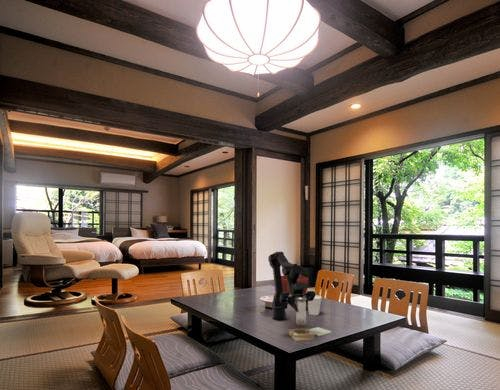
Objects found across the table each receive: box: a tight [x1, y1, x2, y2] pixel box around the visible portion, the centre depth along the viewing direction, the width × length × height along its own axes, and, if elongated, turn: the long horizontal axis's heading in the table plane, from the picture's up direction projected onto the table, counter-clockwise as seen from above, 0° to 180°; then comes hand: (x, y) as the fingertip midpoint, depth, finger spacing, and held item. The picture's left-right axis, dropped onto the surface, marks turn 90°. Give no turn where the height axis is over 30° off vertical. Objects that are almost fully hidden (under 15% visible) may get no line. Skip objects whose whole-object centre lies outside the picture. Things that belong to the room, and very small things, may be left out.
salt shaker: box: [295, 296, 307, 326], centre depth 166 cm, size 6×6×13 cm
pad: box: [308, 326, 332, 337], centre depth 173 cm, size 10×10×1 cm
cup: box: [308, 294, 323, 316], centre depth 208 cm, size 10×10×11 cm
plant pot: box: [281, 274, 310, 302], centre depth 250 cm, size 19×19×17 cm
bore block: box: [288, 327, 316, 342], centre depth 164 cm, size 10×10×3 cm
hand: (302, 311), depth 164 cm, fingers closed on salt shaker, 5 cm apart
